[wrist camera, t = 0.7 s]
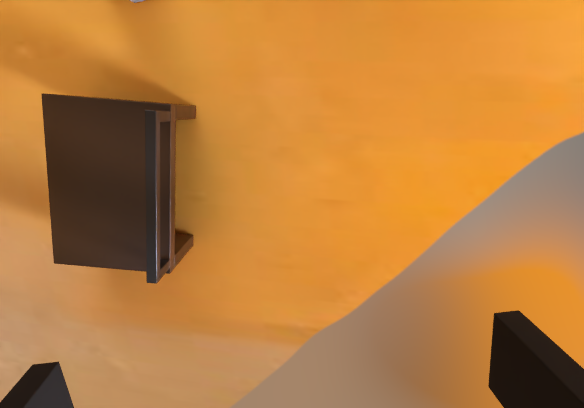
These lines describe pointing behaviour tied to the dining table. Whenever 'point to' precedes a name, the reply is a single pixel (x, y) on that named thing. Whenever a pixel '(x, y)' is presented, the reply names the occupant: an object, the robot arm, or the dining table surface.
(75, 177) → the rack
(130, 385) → the dining table surface
